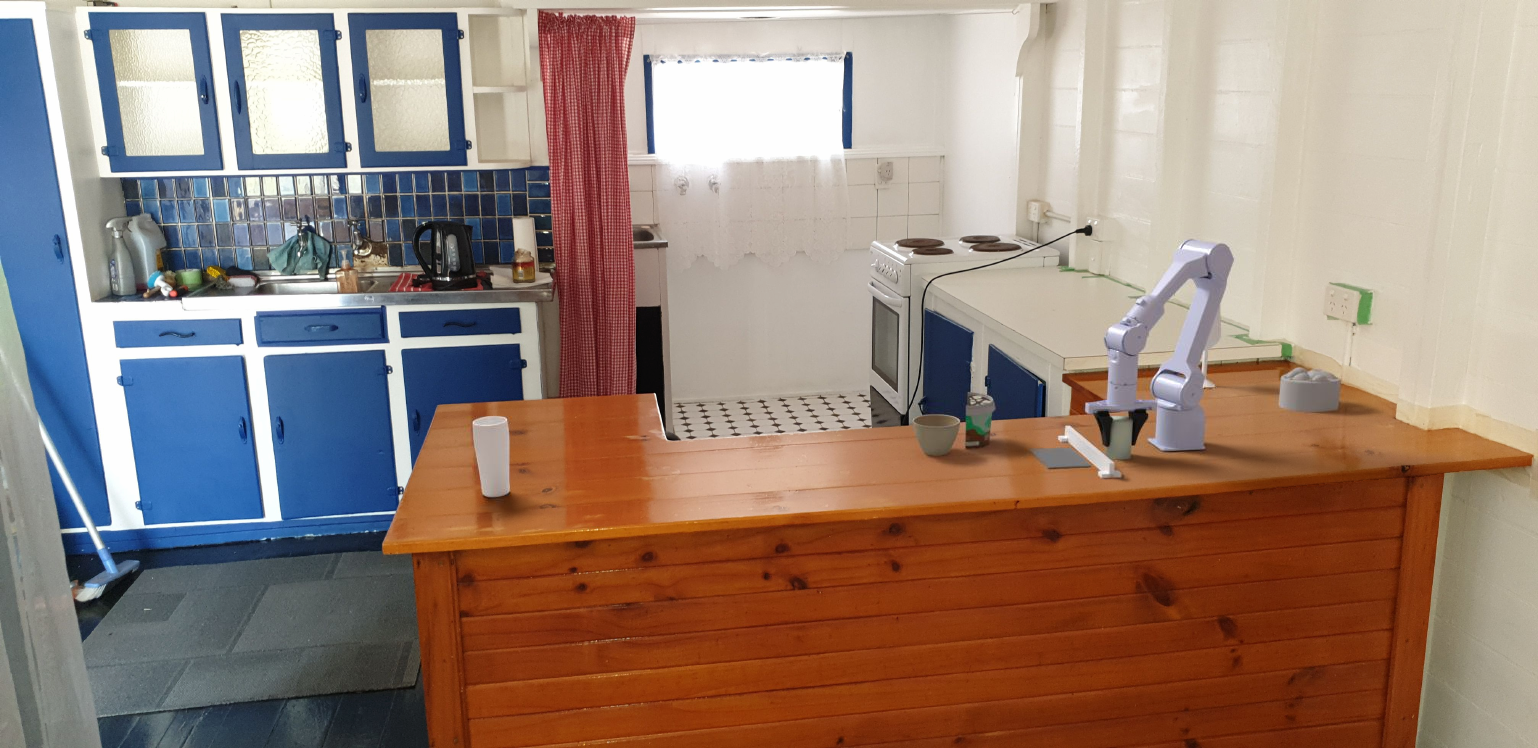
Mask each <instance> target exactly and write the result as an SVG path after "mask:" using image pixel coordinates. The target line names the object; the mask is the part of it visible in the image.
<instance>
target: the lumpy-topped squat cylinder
mask: <svg viewBox="0 0 1538 748" xmlns="http://www.w3.org/2000/svg"><path fill="white" fill-rule="evenodd" d="M1279 384H1280V385H1279V397H1278V405H1279V406H1280V407H1281V409H1282V408H1284V409H1283V410H1286V409H1289V410H1288V411H1291V410H1292V412H1300V411H1302V412H1303V413H1323V412H1332V411H1337V410H1338V409H1339V403H1340V395H1341V384H1342V379H1341V378H1340V377H1337V376H1335V375H1334V373H1332V372H1329V371H1325V370H1323V369H1320V368H1314V369H1311V370H1308V371H1307V370H1306V368H1305V367H1300V366H1299V367H1295V368H1294V369H1292V370H1291V371H1288V372H1287V373H1284V374H1283V375H1282V376H1281V377H1280V383H1279ZM1279 406H1278V407H1279ZM1280 407H1279V408H1280Z"/></svg>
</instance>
